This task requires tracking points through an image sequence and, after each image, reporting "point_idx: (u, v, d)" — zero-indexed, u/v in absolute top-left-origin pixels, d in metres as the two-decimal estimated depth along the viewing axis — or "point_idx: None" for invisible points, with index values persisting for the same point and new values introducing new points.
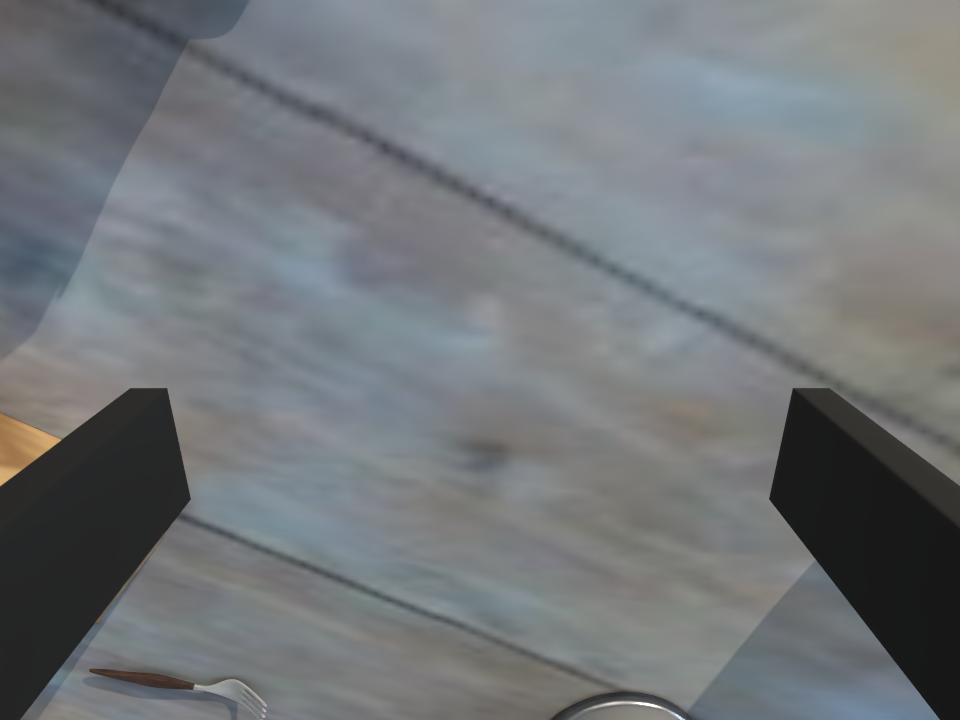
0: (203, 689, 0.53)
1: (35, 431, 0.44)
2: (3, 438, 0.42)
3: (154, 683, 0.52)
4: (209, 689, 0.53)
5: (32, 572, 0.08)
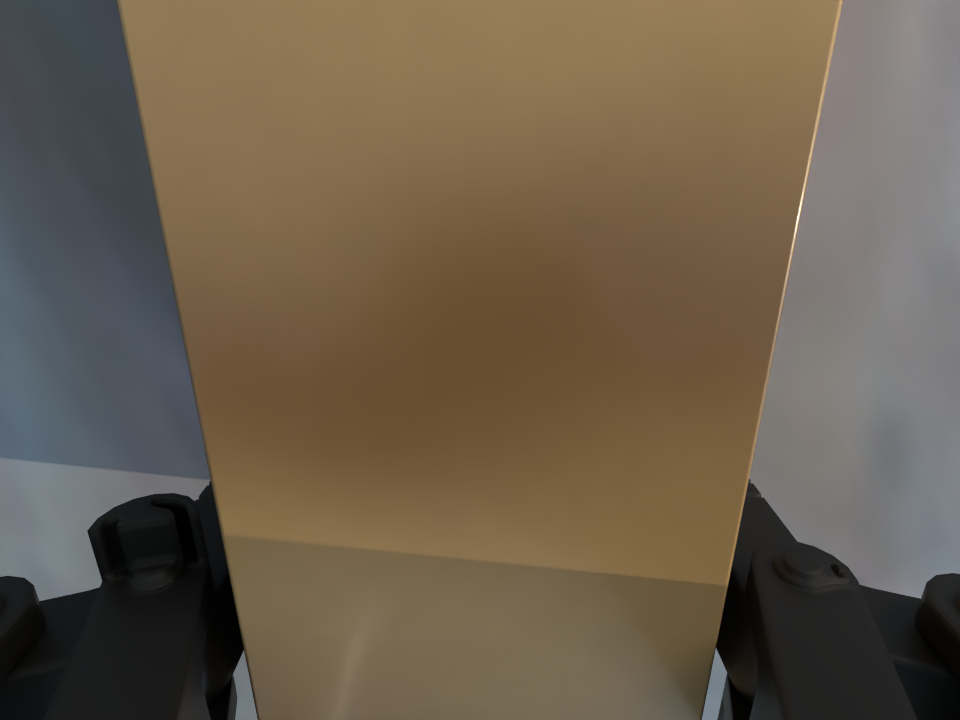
0: None
1: None
2: None
3: None
4: None
5: None
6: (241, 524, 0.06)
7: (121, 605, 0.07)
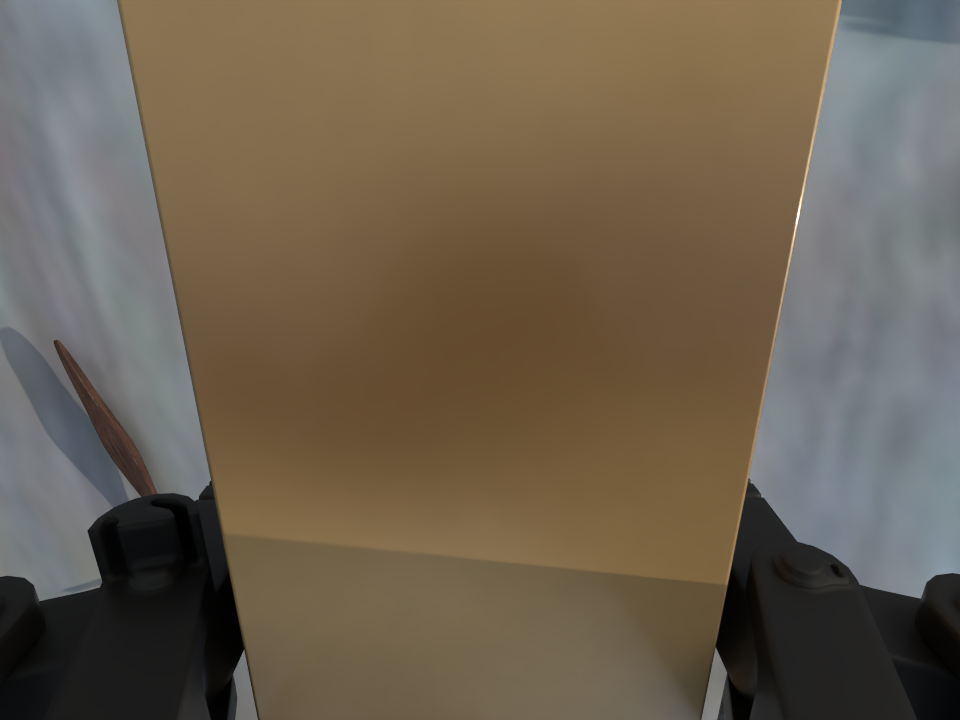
0: None
1: None
2: None
3: (119, 454, 0.27)
4: None
5: None
6: (241, 522, 0.06)
7: (121, 605, 0.07)
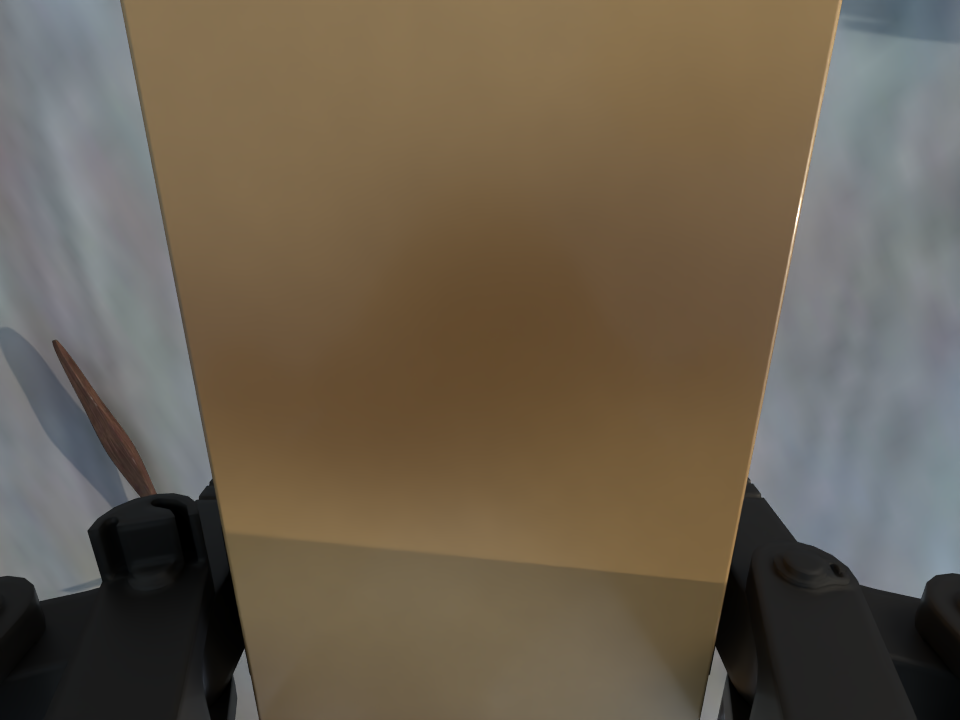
0: None
1: None
2: None
3: (118, 454, 0.27)
4: None
5: None
6: (242, 520, 0.06)
7: (121, 605, 0.07)
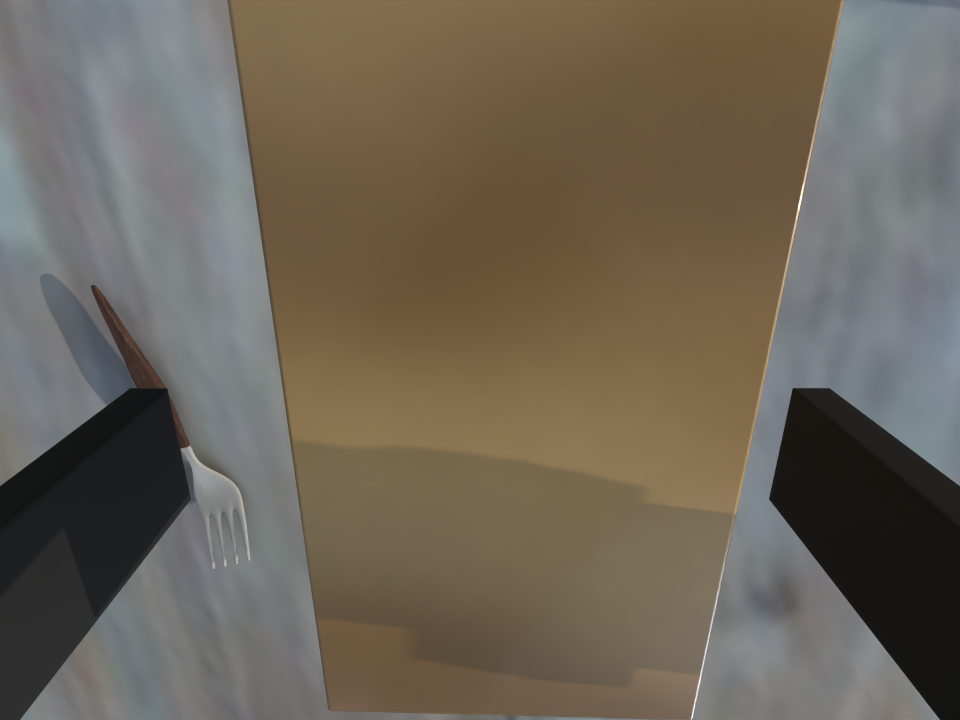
0: (192, 460, 0.31)
1: None
2: None
3: None
4: (197, 468, 0.31)
5: (32, 572, 0.08)
6: (301, 376, 0.07)
7: None
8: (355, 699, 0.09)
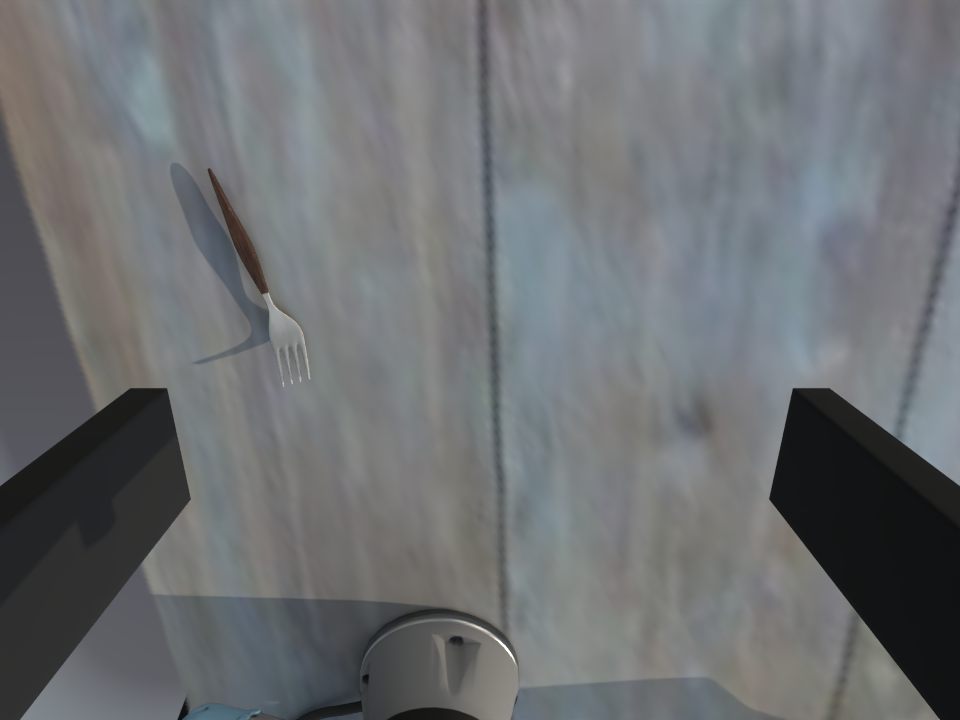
0: (270, 304, 0.43)
1: None
2: None
3: (244, 250, 0.42)
4: (273, 310, 0.44)
5: (32, 572, 0.08)
6: None
7: None
8: None
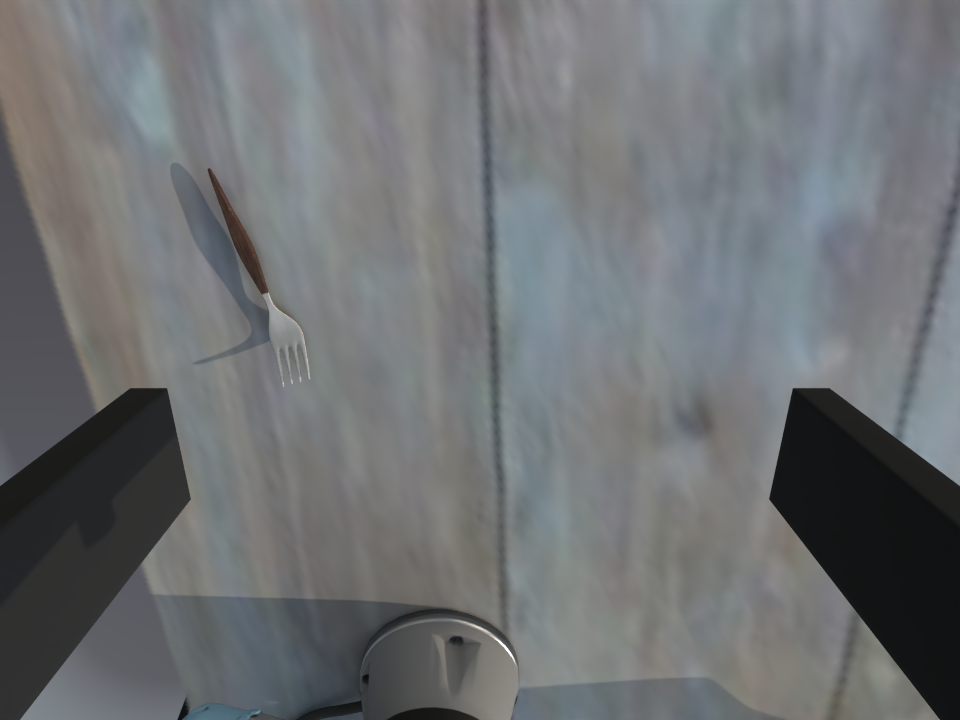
0: (270, 304, 0.43)
1: None
2: None
3: (244, 250, 0.42)
4: (273, 310, 0.44)
5: (32, 572, 0.08)
6: None
7: None
8: None
